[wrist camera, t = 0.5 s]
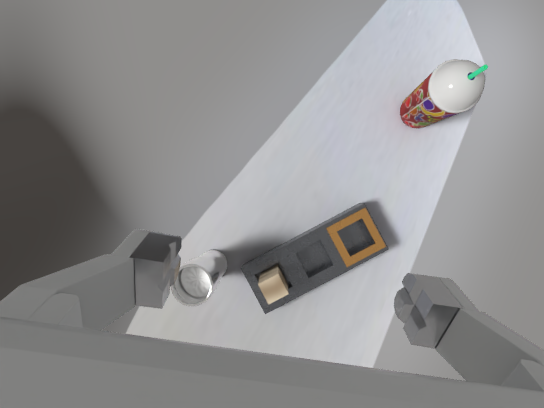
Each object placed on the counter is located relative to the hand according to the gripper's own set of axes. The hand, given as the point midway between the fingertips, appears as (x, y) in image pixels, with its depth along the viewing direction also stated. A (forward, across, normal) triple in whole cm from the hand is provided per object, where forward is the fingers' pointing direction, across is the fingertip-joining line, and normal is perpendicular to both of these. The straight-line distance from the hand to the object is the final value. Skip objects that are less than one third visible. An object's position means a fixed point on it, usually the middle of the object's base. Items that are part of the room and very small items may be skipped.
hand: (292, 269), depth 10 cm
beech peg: (+38, +4, -31) cm, 49 cm away
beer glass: (+40, -8, -32) cm, 52 cm away
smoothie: (+53, +27, +4) cm, 60 cm away
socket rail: (+41, +12, -26) cm, 50 cm away
